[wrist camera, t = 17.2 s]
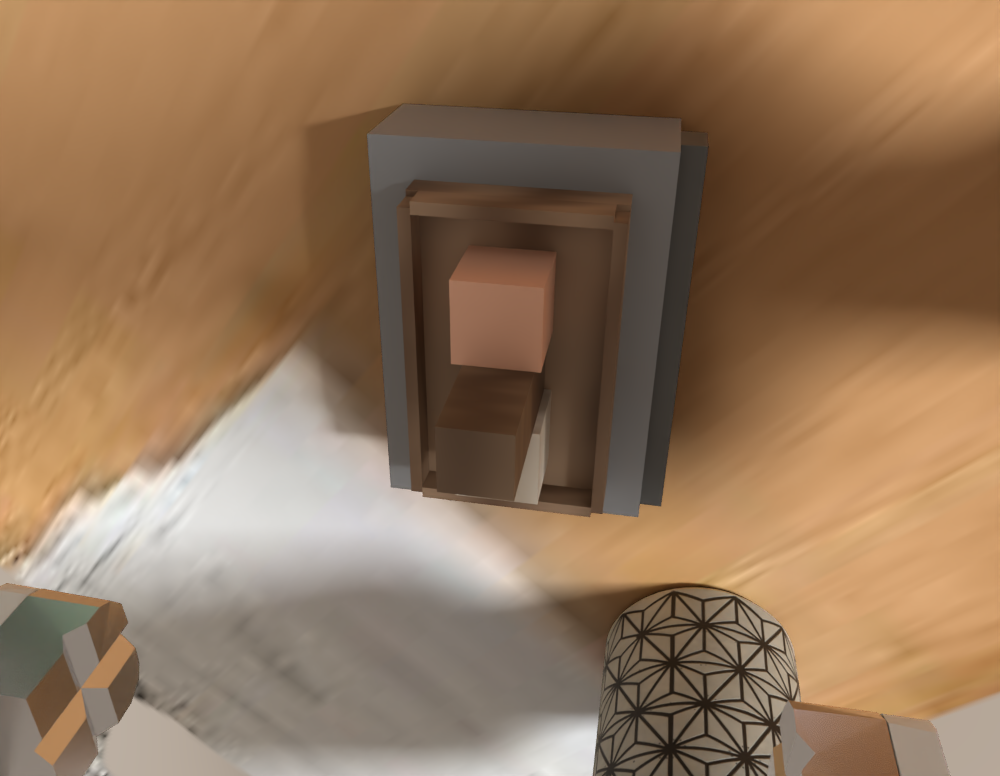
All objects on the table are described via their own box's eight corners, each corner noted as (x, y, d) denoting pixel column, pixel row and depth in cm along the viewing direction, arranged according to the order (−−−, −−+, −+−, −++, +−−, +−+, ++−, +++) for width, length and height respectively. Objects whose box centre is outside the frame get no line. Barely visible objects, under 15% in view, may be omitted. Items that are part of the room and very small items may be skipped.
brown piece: (632, 194, 39) (617, 290, 30) (606, 483, 47) (588, 626, 38) (414, 179, 40) (337, 267, 31) (425, 462, 48) (367, 595, 40)
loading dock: (706, 119, 42) (709, 153, 37) (662, 457, 53) (660, 519, 48) (403, 103, 45) (367, 133, 40) (418, 430, 55) (390, 487, 50)
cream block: (551, 389, 43) (540, 434, 39) (548, 456, 45) (537, 504, 42) (471, 381, 43) (453, 425, 40) (472, 448, 46) (455, 494, 42)
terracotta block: (556, 251, 39) (544, 288, 36) (552, 331, 41) (541, 372, 38) (469, 245, 40) (448, 279, 36) (469, 323, 42) (450, 363, 38)
